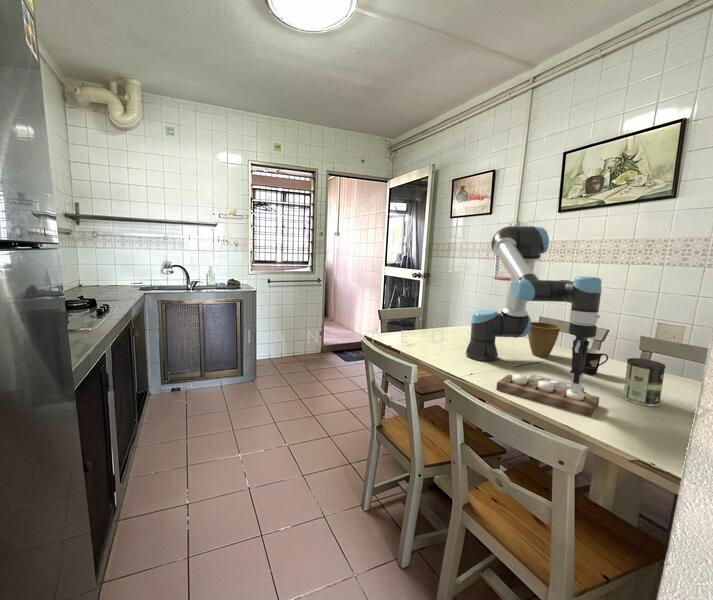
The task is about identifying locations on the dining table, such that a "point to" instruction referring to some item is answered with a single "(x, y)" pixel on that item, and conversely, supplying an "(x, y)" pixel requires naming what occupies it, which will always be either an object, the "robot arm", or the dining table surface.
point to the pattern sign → (555, 382)
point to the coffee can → (644, 381)
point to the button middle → (546, 386)
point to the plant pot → (542, 338)
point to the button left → (519, 379)
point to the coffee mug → (593, 361)
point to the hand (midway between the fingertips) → (575, 391)
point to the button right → (575, 395)
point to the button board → (549, 396)
